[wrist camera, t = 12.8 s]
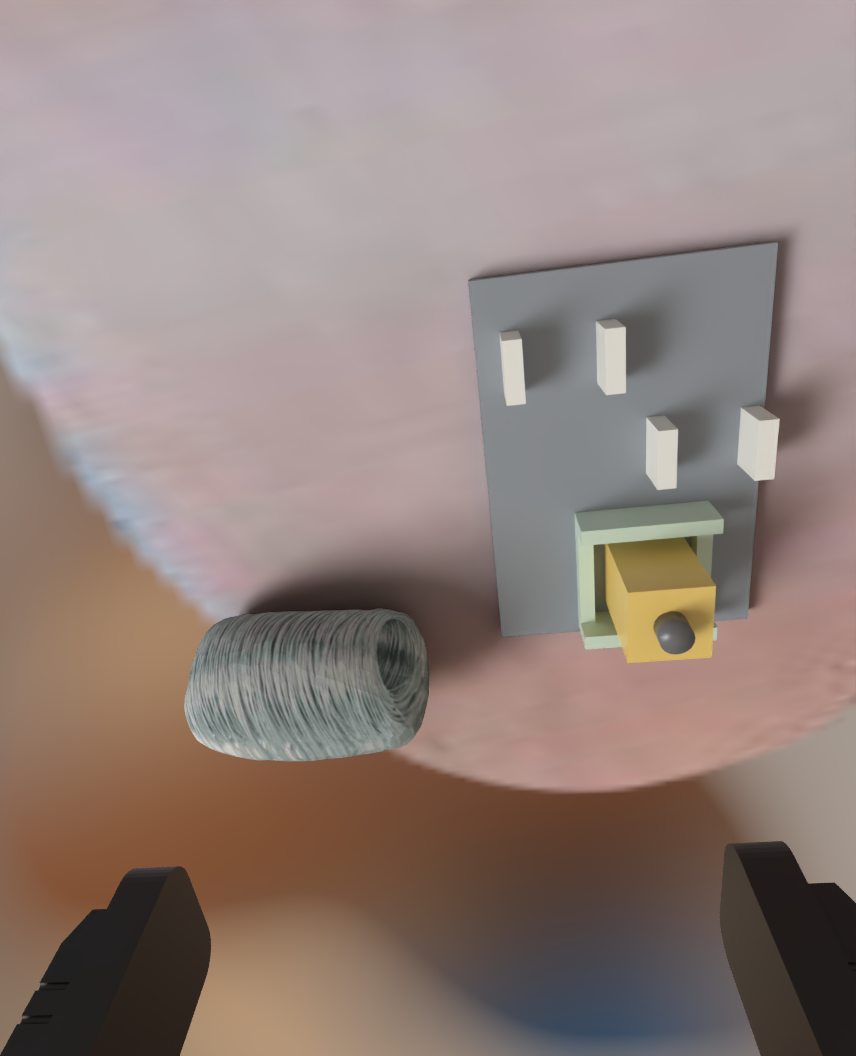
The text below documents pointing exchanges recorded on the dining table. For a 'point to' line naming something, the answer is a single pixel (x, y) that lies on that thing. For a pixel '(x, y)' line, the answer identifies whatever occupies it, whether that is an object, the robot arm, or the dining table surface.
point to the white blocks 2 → (752, 449)
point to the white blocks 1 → (608, 361)
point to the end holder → (627, 528)
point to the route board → (619, 414)
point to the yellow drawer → (659, 600)
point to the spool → (308, 684)
